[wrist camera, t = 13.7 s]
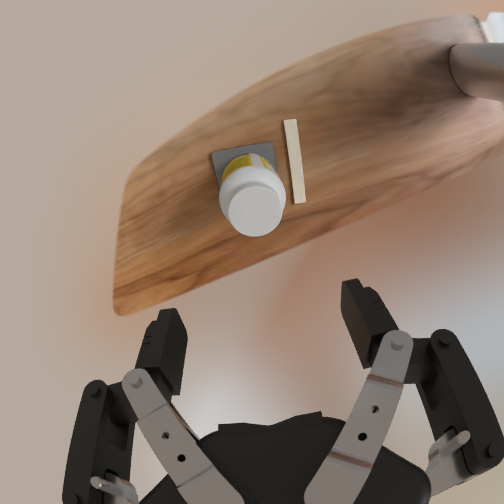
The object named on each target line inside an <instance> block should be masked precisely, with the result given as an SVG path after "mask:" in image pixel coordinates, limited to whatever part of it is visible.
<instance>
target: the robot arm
mask: <svg viewBox="0 0 504 504" xmlns="http://www.w3.org/2000/svg"><path fill="white" fill-rule="evenodd" d="M449 64H450V69H451V73H452V75H453V78H454V80H455V82H456V84H457V85H458V87H459V88H460V89H461V90H462V91H463V92H464V93H465V94H467V95H469V96H474V97H480V98H486V99H491V100H496V101H501V102H504V43H466V44H457V45H454V46H453V47H452V49H451V51H450V54H449ZM341 312H342V316H343V319H344V321H345V324H346V326H347V328H348V331H349V333H350V335H351V338H352V341H353V343H354V346H355V348H356V351H357V353H358V356H359V359H360V361H361V364H362V366H363V369H365V368H369V367H371V371H370V373H369V375H368V377H367V378H366V381H365V383H364V385H363V388H362V390H361V392H360V394H359V397H358V399H357V401H356V403H355V405H354V407H353V410H352V412H351V414H350V416H349V418H348V420H347V422H345V421H343V420H340V419H336V418H331V417H322V413H321V411H319V412H314V413H309V414H303V415H298V416H294V417H292V418H289V419H287V420H284V421H282V422H279V423H276V424H274V425H269V426H266V425H257V424H249V423H234V424H219V425H218V431H215V432H213V433H210V434H208V435H206V436H205V437H203V438H202V439H199V437H198V436H197V435H196V434H195V433H194V432H193V431H192V430H191V428H190V427H189V426H188V424H187V423H186V422H185V420H184V419H183V418H182V416H181V415H180V414H179V412H178V411H177V409H176V408H175V407H174V405H173V404H172V403H171V397H172V395H180V389H181V382H182V375H183V368H184V360H185V354H186V348H187V340H188V337H187V332H186V328H185V326H184V324H183V322H182V320H181V318H180V315H179V314H178V311H177V310H176V309H175V308H171V309H163V310H160V311H159V315H158V318H157V320H156V321H152V322H151V323H150V325H149V326H148V327H147V329H146V332H145V335H144V339H143V342H142V345H141V348H140V352H139V355H138V359H137V362H136V366H135V369H133V370H131V371H130V372H128V373H127V374H126V375H125V376H124V378H123V380H122V382H118V383H115V384H111V385H108V386H107V385H106V384H105V383H104V382H103V381H102V380H94V381H92V382H90V383H89V384H88V385H87V386H86V387H85V389H84V392H83V395H82V399H81V402H80V406H79V410H78V413H77V417H76V421H75V425H74V430H73V434H72V439H71V444H70V448H69V453H68V459H67V464H66V471H65V478H64V484H63V493H62V501H63V504H429V500H430V497H432V496H434V495H437V494H439V493H441V492H443V491H444V490H447V489H449V488H451V487H453V486H455V485H459V484H462V483H464V482H466V481H468V480H470V479H472V478H474V477H476V476H478V475H480V474H482V473H484V472H486V471H488V470H490V469H492V468H493V467H495V466H497V465H498V464H499V463H500V462H501V460H502V459H503V457H504V436H503V434H502V431H501V428H500V425H499V423H498V420H497V418H496V415H495V413H494V410H493V408H492V406H491V403H490V401H489V399H488V397H487V394H486V392H485V390H484V388H483V386H482V384H481V382H480V379H479V377H478V375H477V373H476V372H475V370H474V368H473V366H472V364H471V362H470V360H469V358H468V356H467V354H466V353H465V351H464V349H463V348H462V346H461V344H460V342H459V340H458V339H457V337H456V335H454V333H453V332H451V331H449V330H446V329H439V330H436V331H435V332H433V334H432V335H431V338H411V336H410V335H409V334H408V333H406V332H404V331H401V330H399V328H398V327H397V325H396V323H395V321H394V320H393V318H392V316H391V315H390V313H389V311H388V309H387V308H386V307H385V305H384V303H383V302H382V299H381V298H380V296H379V295H378V293H377V292H376V291H375V290H373V289H372V288H371V287H365V288H363V286H362V284H361V283H360V281H359V280H358V279H357V278H356V279H351V280H347V281H343V282H342V290H341ZM413 383H415V384H416V387H417V389H418V392H419V395H420V397H421V400H422V403H423V406H424V408H425V411H426V414H427V417H428V420H429V423H430V426H431V429H432V432H433V436H434V439H435V443H433V445H432V446H431V448H430V450H429V454H428V457H429V464H428V467H427V469H426V471H425V472H424V471H423V470H422V469H421V468H419V467H418V466H416V465H414V464H413V463H410V462H409V461H407V460H406V459H404V458H402V457H401V456H399V455H397V454H395V453H394V452H392V451H391V450H389V449H388V448H386V447H384V446H383V445H382V444H383V442H384V439H385V437H386V434H387V432H388V429H389V427H390V424H391V422H392V419H393V417H394V414H395V411H396V408H397V405H398V403H399V399H400V396H401V394H402V390H403V386H404V385H403V384H413ZM135 422H137V424H138V426H139V428H140V429H141V431H142V433H143V435H144V436H145V438H146V440H147V441H148V443H149V445H150V446H151V448H152V450H153V451H154V453H155V454H156V456H157V458H158V459H159V461H160V462H161V464H162V465H163V467H164V468H165V470H166V471H167V473H168V474H167V475H166V476H165V477H164V478H163V479H162V480H161V481H160V482H159V484H157V485H156V486H155V487H154V489H152V491H150V492H149V493H148V494H147V495H146V496H145V497H144V498H143V499H142V500H141V501H140V503H139V501H138V495H137V493H136V489H135V487H134V486H133V485H132V484H131V483H130V482H129V481H130V467H131V455H132V446H133V437H134V429H135Z"/></svg>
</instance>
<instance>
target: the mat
mask: <svg viewBox="0 0 504 504" xmlns="http://www.w3.org/2000/svg"><path fill="white" fill-rule="evenodd" d="M248 153H251V154H257V155H260V156H262V157H263V158H265V159H266V160H267V161H268V162H269V163H270V164H271V165H272V167H273V168H274V170H275V172H276V173H277V167H276V160H275V154H274V147H273V142H265V143H259V144H253V145H247V146H241V147H236V148H230V149H225V150H220V151H215V152H211V155H212V160H213V164H214V169H215V173H216V178H217V182H218V187H219V191H220V188H221V182H222V176H223V172H224V169H225V167H226V166H227V164H228V163H229V162H230V161H231V160H232V159H233V158H235V157H237V156H239V155H242V154H248ZM277 175H278V174H277Z"/></svg>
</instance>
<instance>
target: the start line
mask: <svg viewBox="0 0 504 504" xmlns="http://www.w3.org/2000/svg"><path fill="white" fill-rule="evenodd" d="M283 121H284V128H285V134H286V141H287V148H288V156H289V163H290V171H291V179H292V187H293V195H294V203H295V204H296V203H303V202H306V197H305V187H304V177H303V168H302V160H301V151H300V144H299V136H298V129H297V122H296V119H289V120H283Z"/></svg>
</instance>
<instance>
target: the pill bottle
mask: <svg viewBox="0 0 504 504" xmlns="http://www.w3.org/2000/svg"><path fill="white" fill-rule="evenodd" d="M219 203H220V207H221V210H222V212H223V214H224V215H225V217H226V218H227V219H228V220H229V221H230V223H231V224H232V226H233V227H234V228H235V229H236V230H237V231H238V232H240V233H242V234H244V235H247V236H253V237H256V236H262V235H265V234H268V233H269V232H271V231H272V230H274V229H275V228H276V227H277V225H278V224H279V222H280V220H281V217H282V212H283V210H284V207H285V203H286V192H285V188H284V186H283V183H282V181H281V180H280V178H279V176H278V175H277V173H276V172H275V170H274V168H273V167H272V165H271V164H270V163H269V162H268V161H267V160H266V159H265V158H263V157H262V156H260V155H257V154H251V153H248V154H242V155H239V156H237V157H235V158H233V159H232V160H231V161H230V162H229V163H228V164H227V166H226V167H225V169H224V172H223V176H222V182H221V188H220V193H219Z"/></svg>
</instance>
